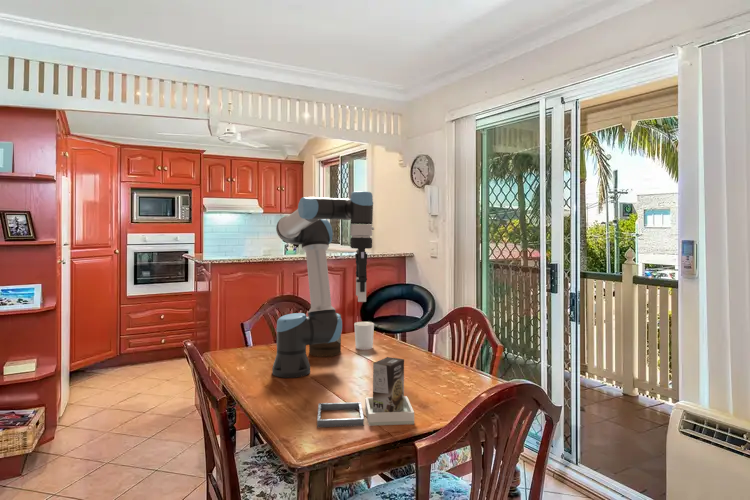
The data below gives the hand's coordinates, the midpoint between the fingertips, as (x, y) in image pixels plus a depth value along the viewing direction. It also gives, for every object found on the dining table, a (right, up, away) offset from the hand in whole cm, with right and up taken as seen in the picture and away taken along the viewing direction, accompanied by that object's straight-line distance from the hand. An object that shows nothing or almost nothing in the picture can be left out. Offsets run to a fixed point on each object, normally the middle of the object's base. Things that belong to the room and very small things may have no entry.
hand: (360, 298), depth 159 cm
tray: (+9, -35, -16) cm, 39 cm away
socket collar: (-6, -35, -18) cm, 39 cm away
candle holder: (0, -32, +68) cm, 75 cm away
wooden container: (-19, -32, +59) cm, 69 cm away
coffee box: (+9, -34, -16) cm, 39 cm away
